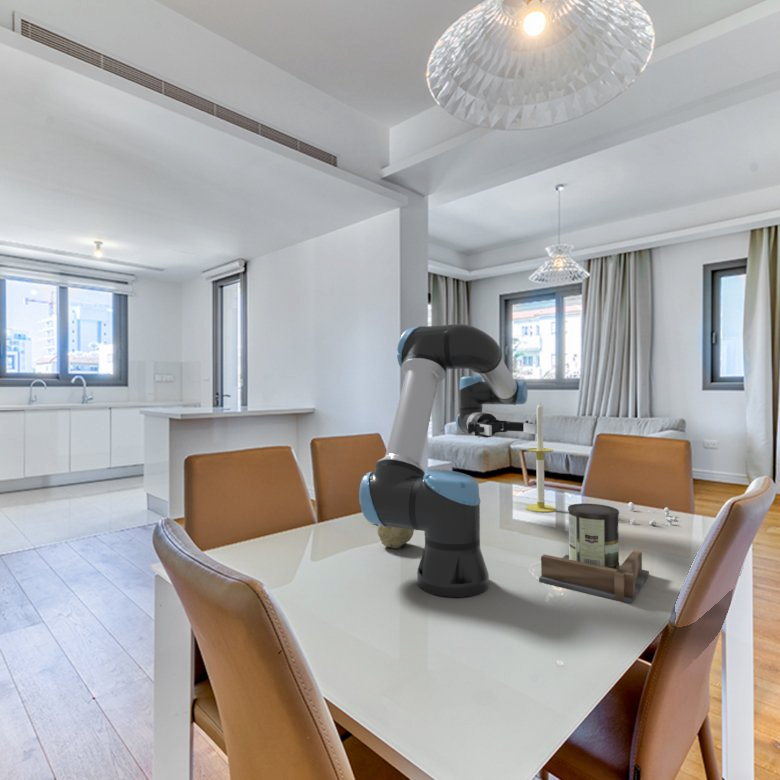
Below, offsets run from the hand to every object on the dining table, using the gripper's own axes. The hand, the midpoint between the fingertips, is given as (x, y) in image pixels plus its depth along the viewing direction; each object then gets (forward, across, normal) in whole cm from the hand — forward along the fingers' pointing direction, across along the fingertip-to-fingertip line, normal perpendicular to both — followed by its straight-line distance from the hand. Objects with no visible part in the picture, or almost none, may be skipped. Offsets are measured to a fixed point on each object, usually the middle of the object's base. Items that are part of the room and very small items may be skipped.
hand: (513, 430), depth 132 cm
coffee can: (+28, -4, -29) cm, 41 cm away
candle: (-29, -24, -30) cm, 48 cm away
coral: (-3, +33, -30) cm, 45 cm away
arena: (+28, -4, -30) cm, 41 cm away
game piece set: (-10, -49, -31) cm, 59 cm away
